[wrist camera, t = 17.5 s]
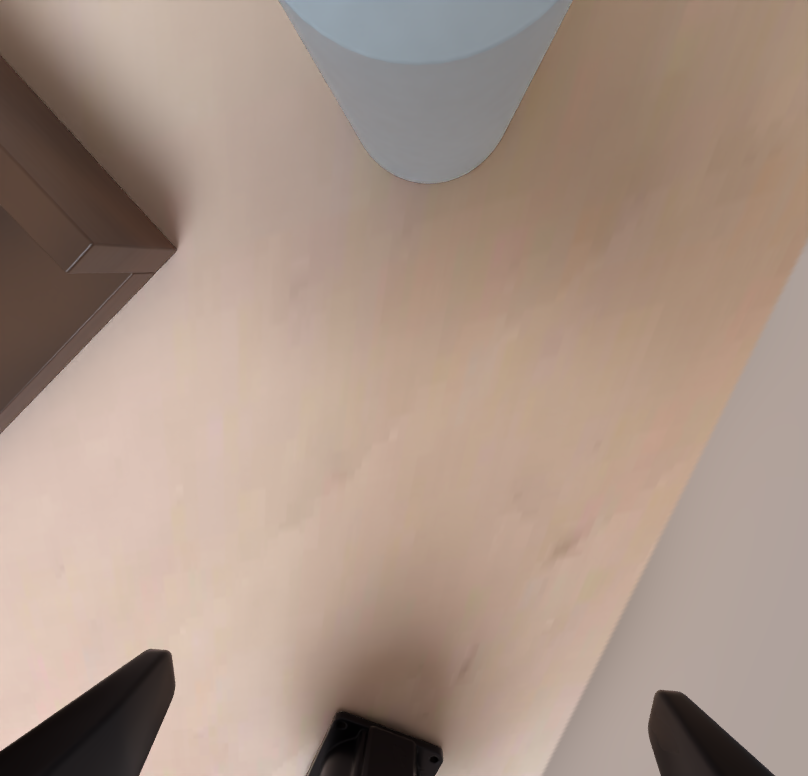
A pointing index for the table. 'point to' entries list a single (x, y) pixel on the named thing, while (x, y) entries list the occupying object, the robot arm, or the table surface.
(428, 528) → the table surface
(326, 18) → the pale blue cylinder
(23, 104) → the tray
